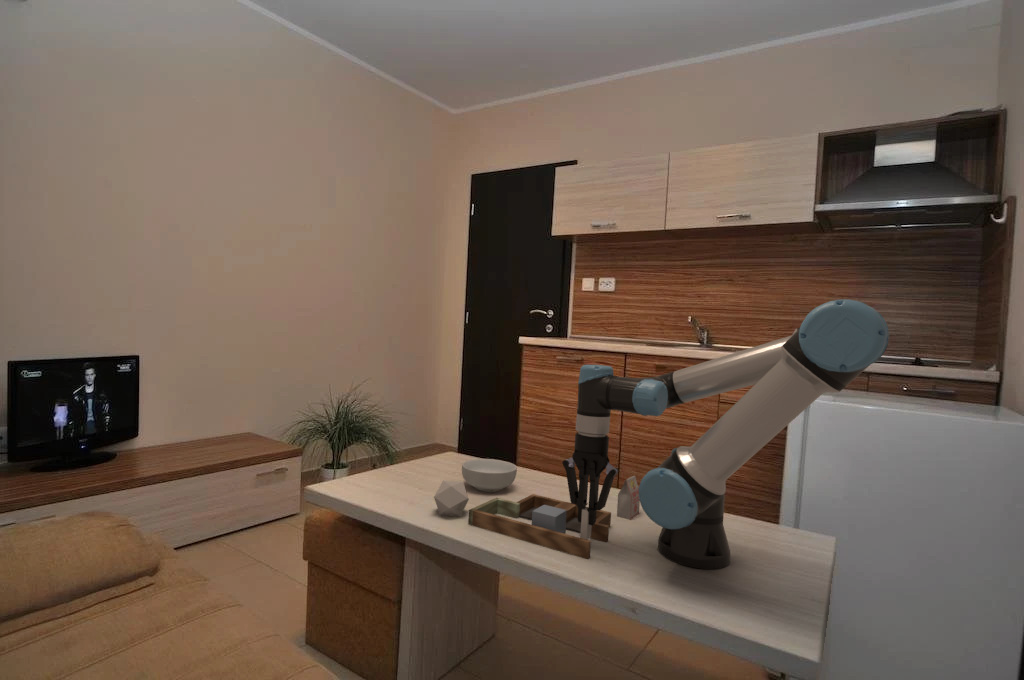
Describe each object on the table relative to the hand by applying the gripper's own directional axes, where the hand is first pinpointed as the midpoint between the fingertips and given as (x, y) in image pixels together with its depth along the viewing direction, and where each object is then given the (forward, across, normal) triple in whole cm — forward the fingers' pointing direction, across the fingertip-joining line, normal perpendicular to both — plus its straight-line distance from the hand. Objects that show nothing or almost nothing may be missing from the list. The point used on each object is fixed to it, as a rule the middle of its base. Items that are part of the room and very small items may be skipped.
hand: (585, 537), depth 114 cm
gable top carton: (+2, -1, -27) cm, 27 cm away
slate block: (+2, +9, 0) cm, 10 cm away
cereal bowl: (+3, +41, -22) cm, 46 cm away
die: (+2, +36, +3) cm, 36 cm away
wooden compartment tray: (+2, +12, -5) cm, 13 cm away
